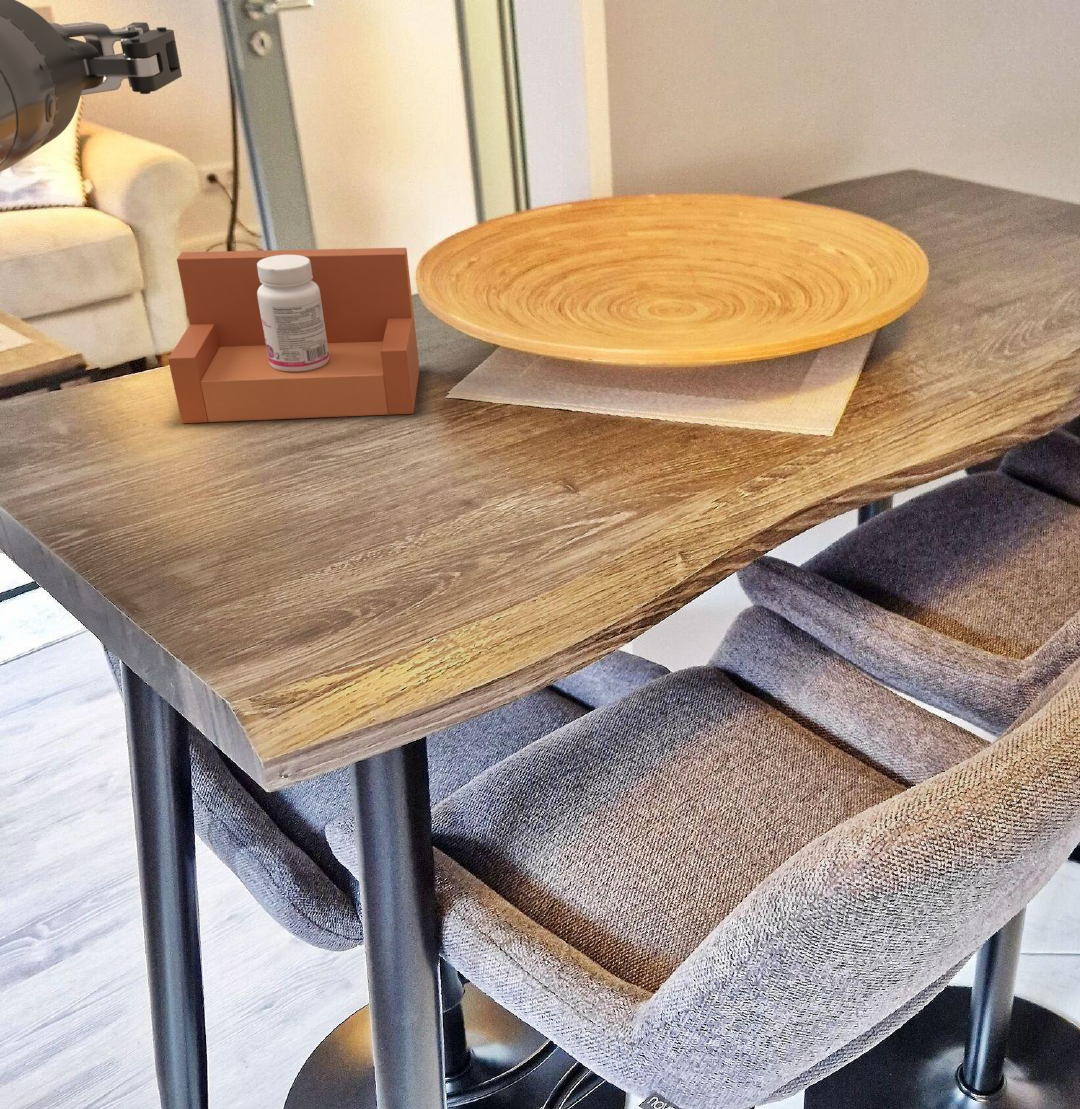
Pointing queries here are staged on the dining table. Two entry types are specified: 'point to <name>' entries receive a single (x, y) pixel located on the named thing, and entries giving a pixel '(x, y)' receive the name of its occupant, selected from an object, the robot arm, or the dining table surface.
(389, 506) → the dining table surface
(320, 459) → the dining table surface
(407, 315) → the couch
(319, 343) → the pill bottle
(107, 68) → the robot arm
